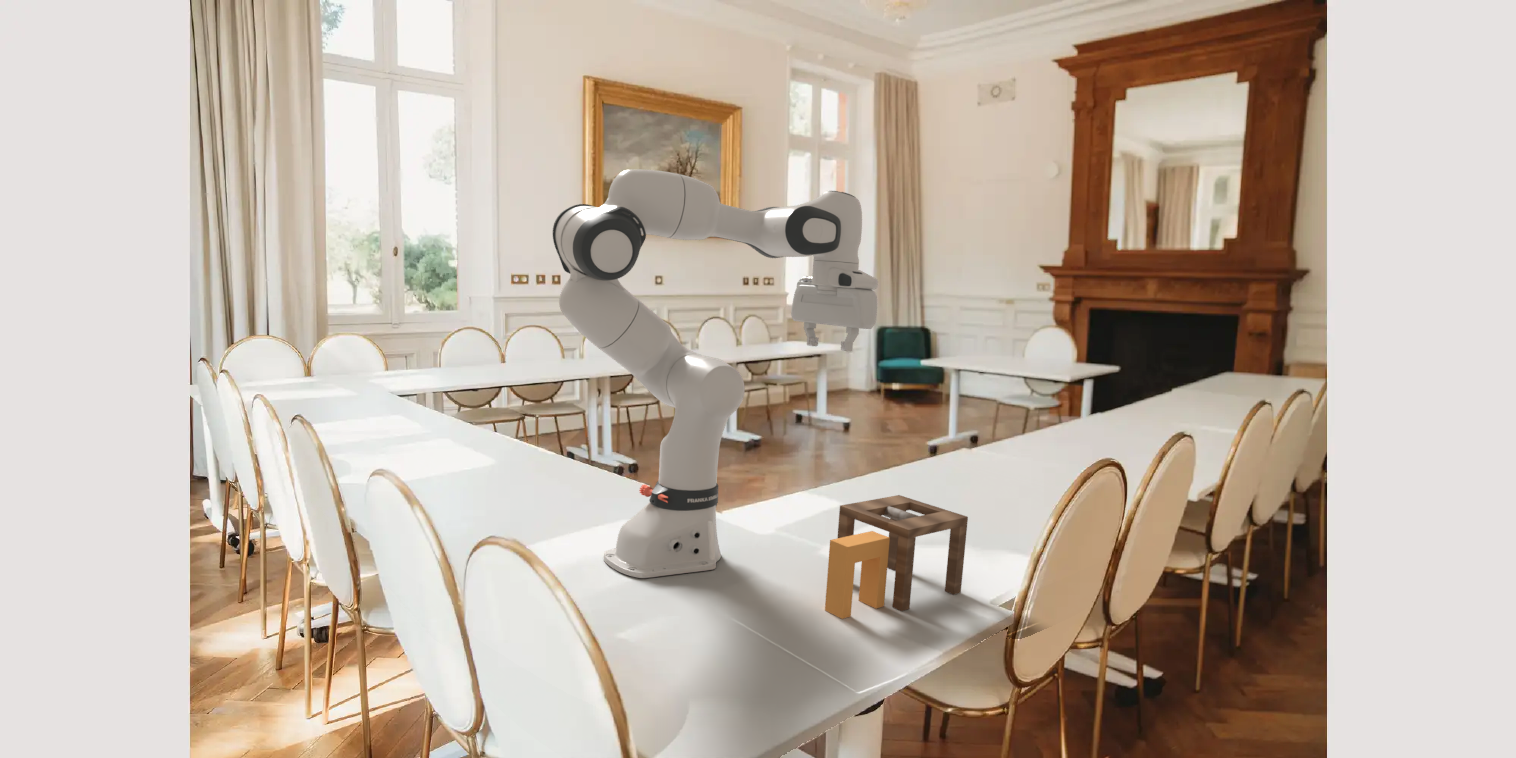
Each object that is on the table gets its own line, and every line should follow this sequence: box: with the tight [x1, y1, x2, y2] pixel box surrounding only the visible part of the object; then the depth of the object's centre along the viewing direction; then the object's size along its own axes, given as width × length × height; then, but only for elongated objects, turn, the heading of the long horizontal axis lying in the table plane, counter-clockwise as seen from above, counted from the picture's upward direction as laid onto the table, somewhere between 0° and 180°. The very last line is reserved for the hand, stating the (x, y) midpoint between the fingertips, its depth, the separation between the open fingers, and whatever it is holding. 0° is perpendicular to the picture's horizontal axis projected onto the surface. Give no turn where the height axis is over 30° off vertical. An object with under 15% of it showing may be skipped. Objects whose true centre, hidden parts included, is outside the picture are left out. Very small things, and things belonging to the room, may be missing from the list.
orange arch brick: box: [824, 530, 890, 620], centre depth 136 cm, size 10×4×12 cm, turn 129°
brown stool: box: [837, 494, 969, 612], centre depth 147 cm, size 16×16×14 cm
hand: (828, 348), depth 161 cm, fingers open, 8 cm apart
